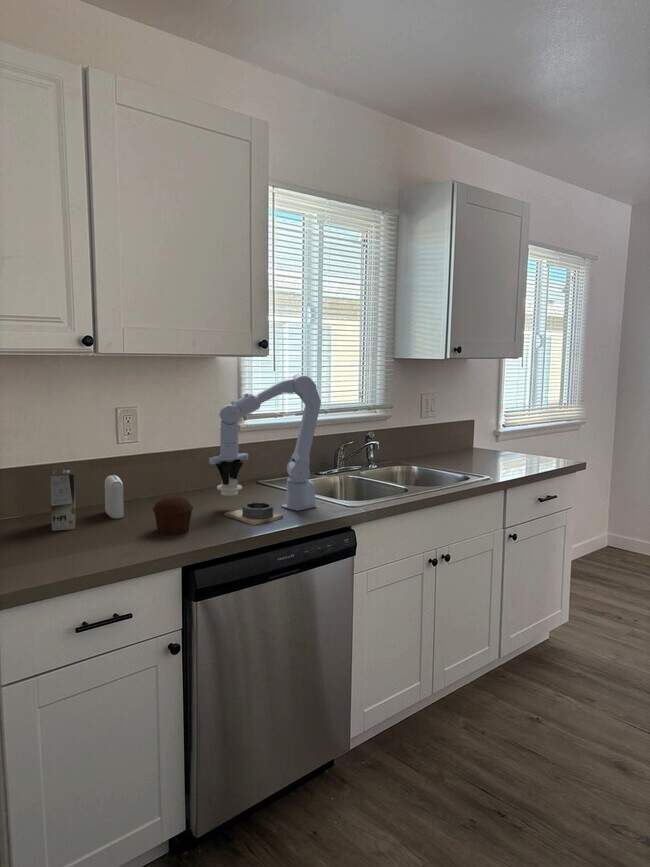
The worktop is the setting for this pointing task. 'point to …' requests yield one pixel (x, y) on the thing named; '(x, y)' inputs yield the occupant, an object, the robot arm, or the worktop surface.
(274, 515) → the mount board
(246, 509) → the grey faceted ring
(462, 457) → the worktop surface
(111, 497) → the grey rounded upright block
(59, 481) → the coffee box
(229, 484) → the white flanged knob
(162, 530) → the muffin
